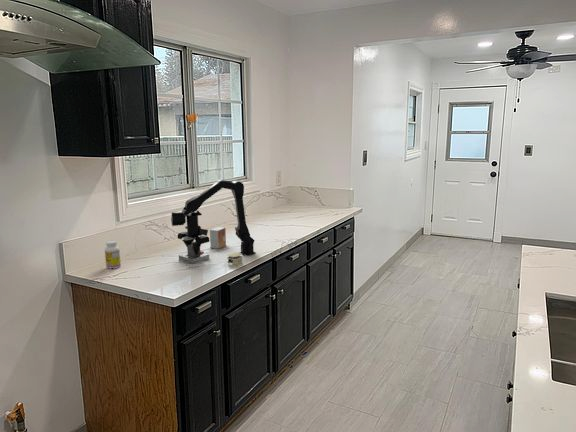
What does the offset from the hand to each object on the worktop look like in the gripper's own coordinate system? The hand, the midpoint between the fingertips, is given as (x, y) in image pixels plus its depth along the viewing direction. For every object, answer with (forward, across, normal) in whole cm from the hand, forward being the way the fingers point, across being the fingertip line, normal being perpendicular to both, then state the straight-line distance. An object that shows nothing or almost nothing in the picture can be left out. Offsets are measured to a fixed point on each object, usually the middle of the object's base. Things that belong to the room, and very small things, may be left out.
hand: (194, 253), depth 226 cm
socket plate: (+3, 0, 0) cm, 3 cm away
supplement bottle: (+3, +22, +32) cm, 39 cm away
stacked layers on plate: (+4, -23, -7) cm, 24 cm away
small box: (+3, +8, -24) cm, 26 cm away
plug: (+2, 0, 0) cm, 2 cm away
